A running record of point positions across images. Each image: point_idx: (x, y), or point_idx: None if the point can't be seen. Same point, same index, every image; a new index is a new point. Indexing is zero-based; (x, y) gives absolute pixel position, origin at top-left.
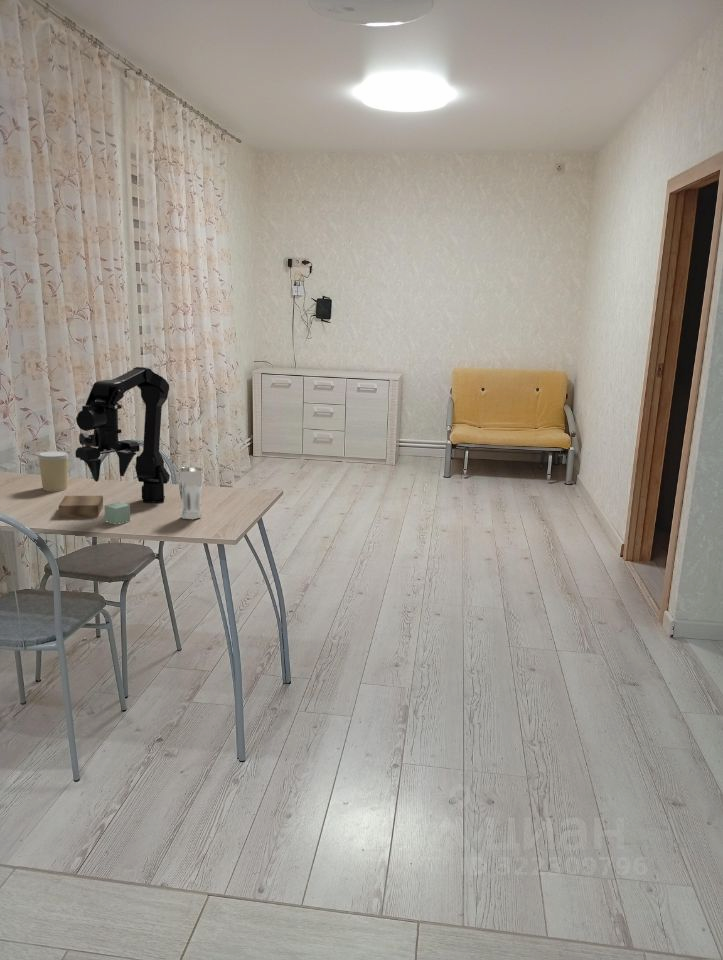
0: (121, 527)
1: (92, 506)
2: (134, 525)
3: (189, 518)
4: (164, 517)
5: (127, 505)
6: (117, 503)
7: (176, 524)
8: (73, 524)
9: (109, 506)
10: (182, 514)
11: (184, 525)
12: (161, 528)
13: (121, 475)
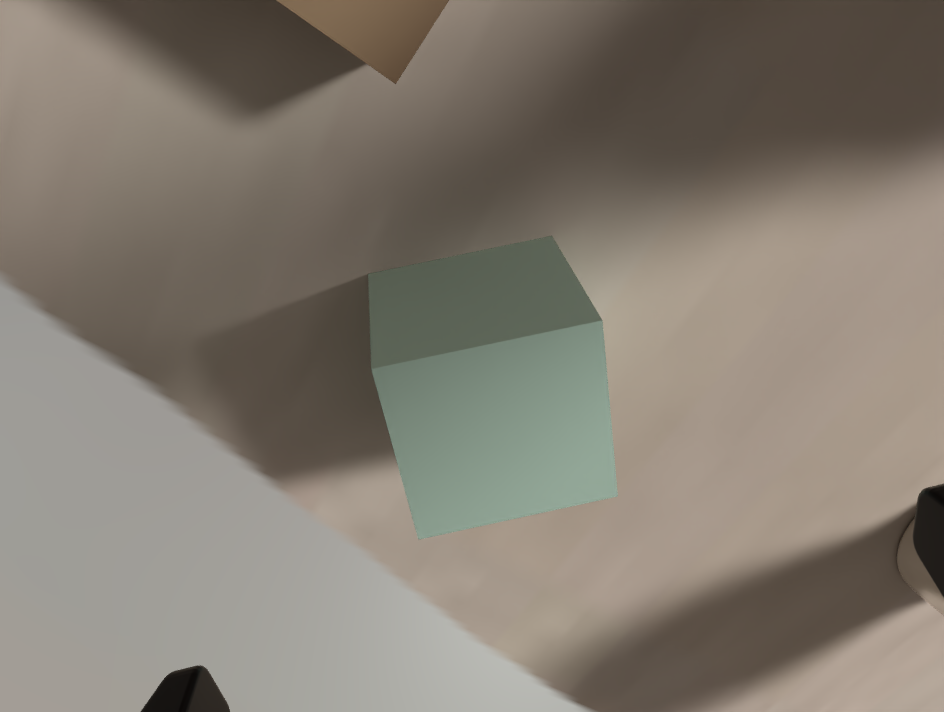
0: None
1: (326, 29)
2: None
3: (914, 589)
4: (851, 439)
5: (591, 493)
6: (553, 371)
7: (769, 613)
8: (8, 174)
9: (401, 437)
10: None
11: (787, 648)
12: (630, 638)
13: (923, 529)
